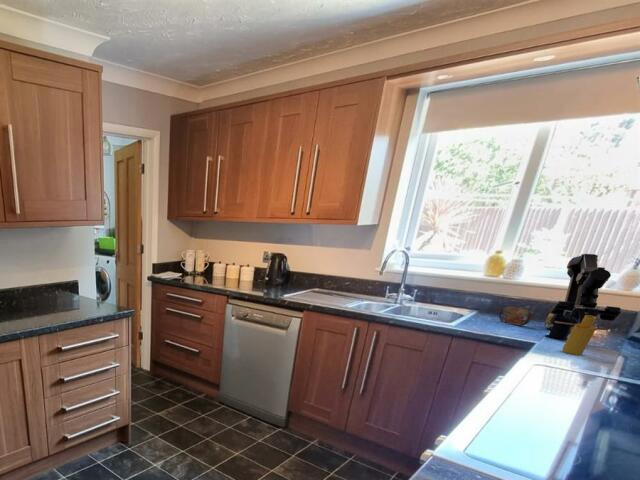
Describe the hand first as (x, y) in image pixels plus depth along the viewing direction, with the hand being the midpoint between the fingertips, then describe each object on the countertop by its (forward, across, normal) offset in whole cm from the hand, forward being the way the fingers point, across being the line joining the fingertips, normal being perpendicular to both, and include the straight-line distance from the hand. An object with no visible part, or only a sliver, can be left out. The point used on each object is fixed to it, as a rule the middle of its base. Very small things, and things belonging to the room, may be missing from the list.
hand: (581, 327), depth 168 cm
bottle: (+8, 0, -6) cm, 10 cm away
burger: (-30, -5, -44) cm, 54 cm away
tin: (-31, +14, -45) cm, 56 cm away
